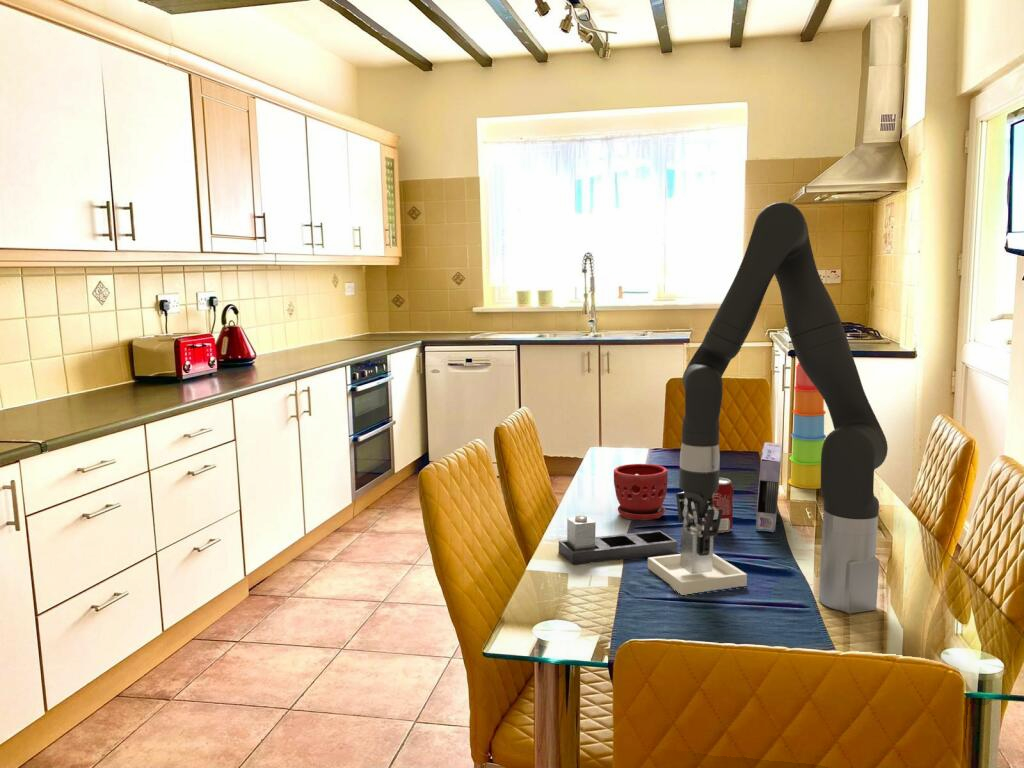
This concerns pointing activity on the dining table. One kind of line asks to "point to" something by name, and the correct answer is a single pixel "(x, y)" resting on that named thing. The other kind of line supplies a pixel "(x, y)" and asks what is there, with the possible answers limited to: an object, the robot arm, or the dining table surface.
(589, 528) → the square metal peg
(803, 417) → the stacking cups
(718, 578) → the parts tray
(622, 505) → the plant pot
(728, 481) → the soda can
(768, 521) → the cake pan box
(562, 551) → the dark grey compartment tray
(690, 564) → the silver knobbed block
